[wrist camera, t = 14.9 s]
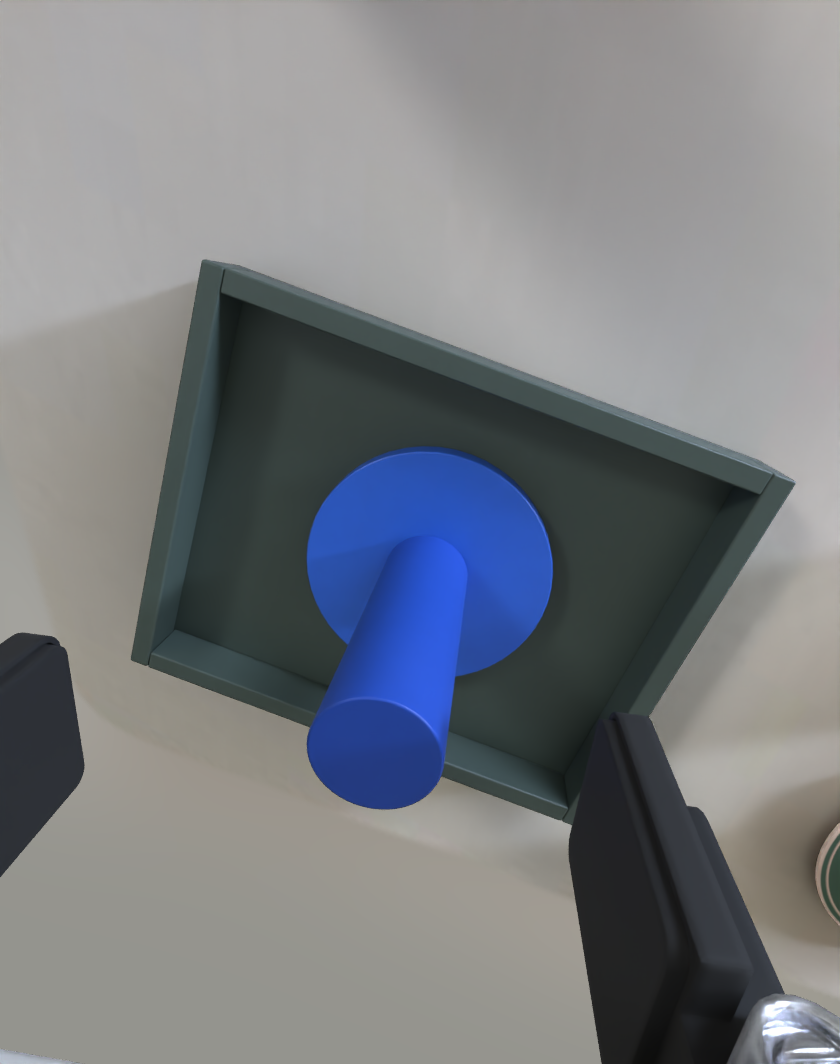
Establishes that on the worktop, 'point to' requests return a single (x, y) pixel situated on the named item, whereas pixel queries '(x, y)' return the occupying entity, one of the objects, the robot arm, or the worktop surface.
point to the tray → (450, 422)
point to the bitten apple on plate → (830, 874)
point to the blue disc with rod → (416, 610)
